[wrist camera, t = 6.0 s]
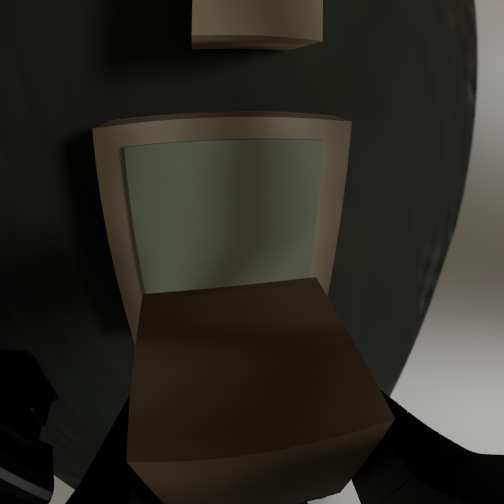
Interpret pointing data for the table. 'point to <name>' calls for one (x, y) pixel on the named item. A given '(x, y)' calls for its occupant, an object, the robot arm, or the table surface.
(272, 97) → the table surface
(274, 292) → the walnut block
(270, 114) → the plinth
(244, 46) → the oak block
